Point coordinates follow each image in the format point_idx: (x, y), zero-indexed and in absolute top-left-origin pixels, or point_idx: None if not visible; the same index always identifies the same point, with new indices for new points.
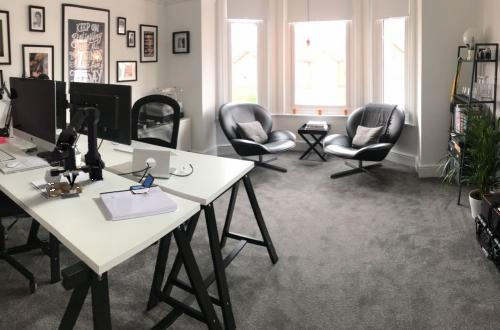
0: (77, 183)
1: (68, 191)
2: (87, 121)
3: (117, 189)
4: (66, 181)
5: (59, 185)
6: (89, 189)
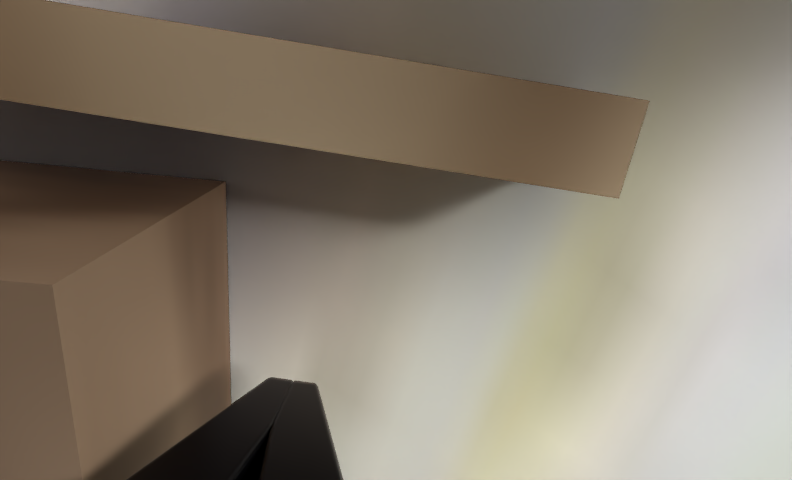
0: (563, 185)
1: None
2: None
3: None
4: (36, 294)
5: None
6: (682, 441)
